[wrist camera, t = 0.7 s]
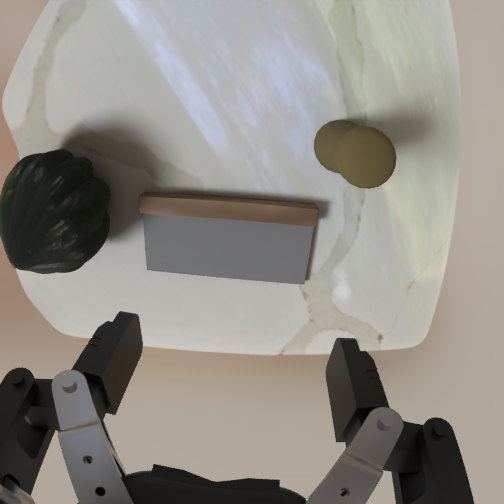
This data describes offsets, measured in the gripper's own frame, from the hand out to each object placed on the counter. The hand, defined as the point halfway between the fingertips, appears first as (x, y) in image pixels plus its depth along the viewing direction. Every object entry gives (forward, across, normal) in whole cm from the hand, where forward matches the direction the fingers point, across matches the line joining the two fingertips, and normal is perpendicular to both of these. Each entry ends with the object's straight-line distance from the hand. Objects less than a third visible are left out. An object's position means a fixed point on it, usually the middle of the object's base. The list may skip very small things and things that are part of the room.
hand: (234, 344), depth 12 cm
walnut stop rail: (+25, +3, +2) cm, 25 cm away
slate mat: (+25, +3, +7) cm, 26 cm away
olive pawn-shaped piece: (+25, -9, -6) cm, 27 cm away
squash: (+25, +23, +3) cm, 34 cm away
